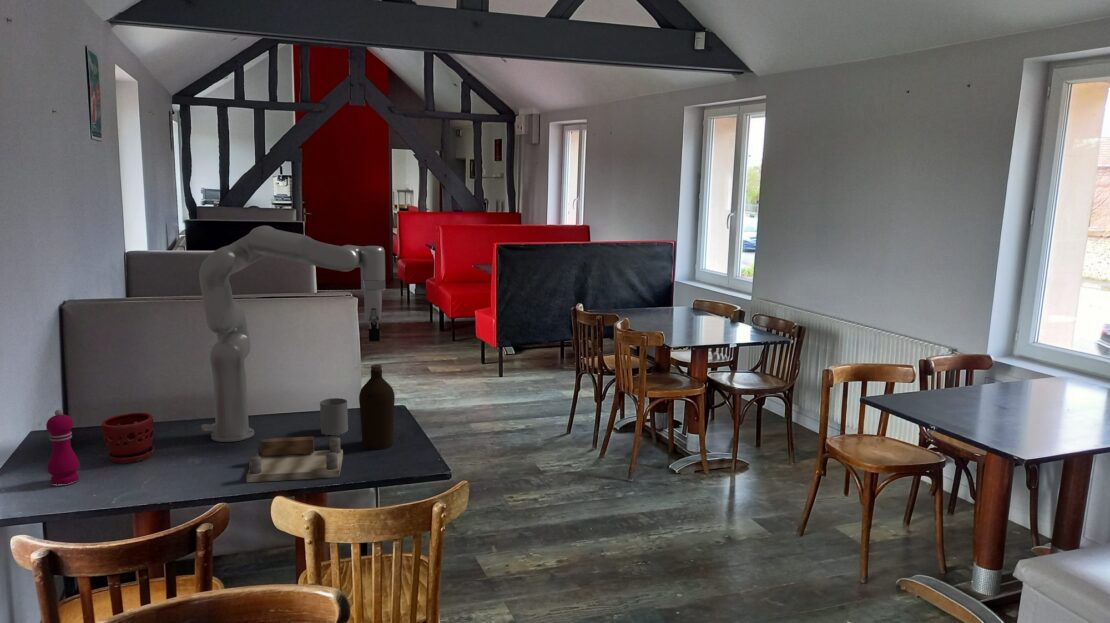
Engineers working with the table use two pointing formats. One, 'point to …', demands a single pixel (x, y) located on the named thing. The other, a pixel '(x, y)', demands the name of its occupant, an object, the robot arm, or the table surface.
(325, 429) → the cup
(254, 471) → the stool seat
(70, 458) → the pepper mill
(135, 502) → the table surface
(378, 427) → the olive oil
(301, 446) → the folding leg
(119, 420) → the plant pot
